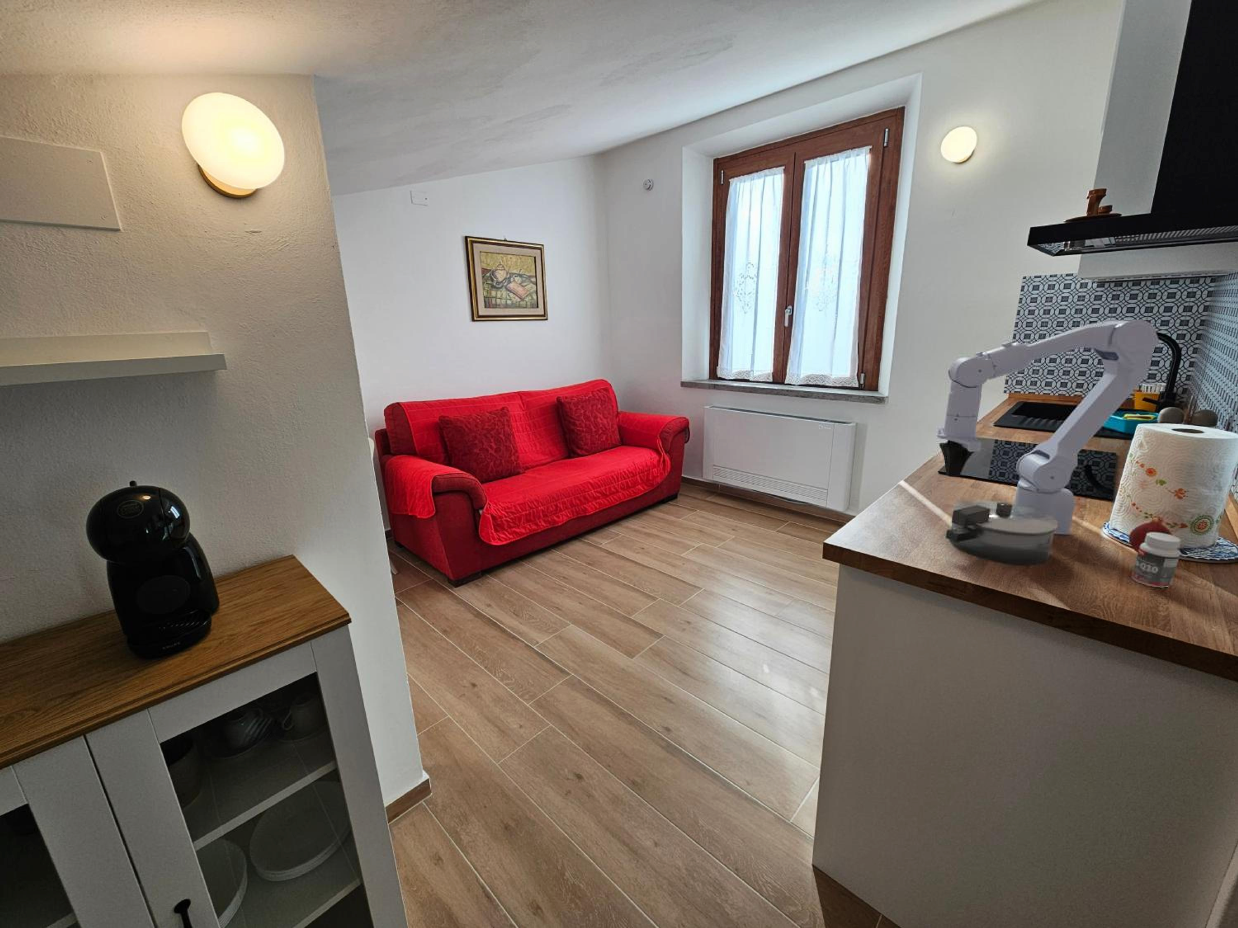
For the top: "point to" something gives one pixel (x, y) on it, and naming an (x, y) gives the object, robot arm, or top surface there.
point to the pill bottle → (1157, 560)
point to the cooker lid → (1003, 517)
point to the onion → (1141, 531)
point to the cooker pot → (1001, 545)
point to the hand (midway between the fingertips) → (952, 476)
